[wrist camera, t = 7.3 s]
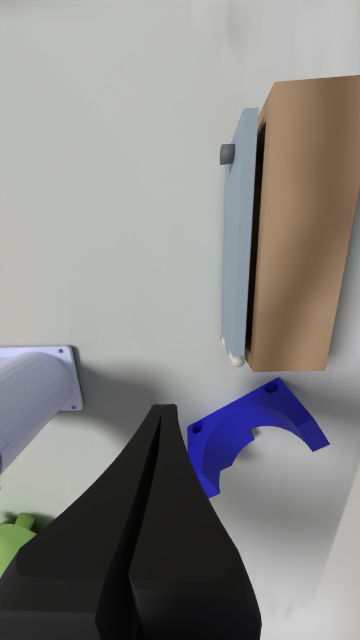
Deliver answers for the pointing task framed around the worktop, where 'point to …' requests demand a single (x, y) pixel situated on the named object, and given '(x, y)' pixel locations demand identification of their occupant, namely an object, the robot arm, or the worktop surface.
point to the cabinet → (301, 220)
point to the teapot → (14, 538)
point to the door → (238, 232)
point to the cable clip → (246, 430)
